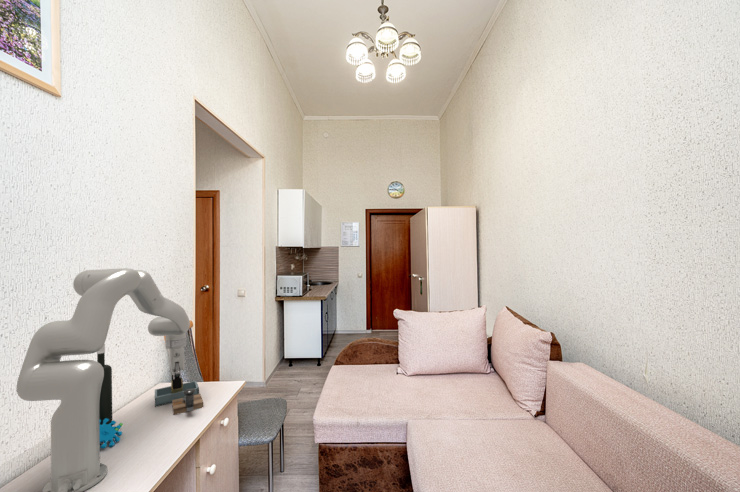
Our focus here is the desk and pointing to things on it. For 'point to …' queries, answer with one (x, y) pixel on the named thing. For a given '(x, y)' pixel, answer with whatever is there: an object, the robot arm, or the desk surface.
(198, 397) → the crank base
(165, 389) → the tray
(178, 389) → the block
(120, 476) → the desk surface
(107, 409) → the wine bottle
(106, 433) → the blue lobed piece
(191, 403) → the crank
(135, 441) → the desk surface
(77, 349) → the robot arm
